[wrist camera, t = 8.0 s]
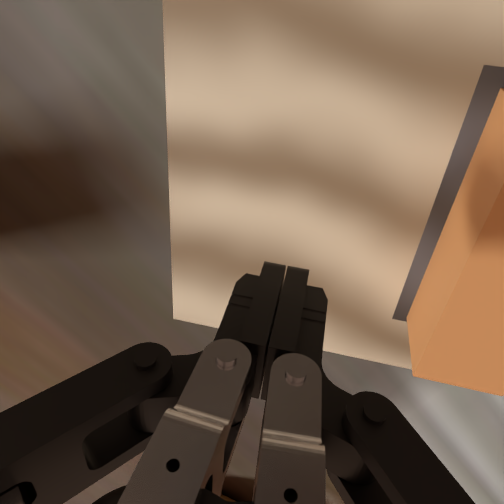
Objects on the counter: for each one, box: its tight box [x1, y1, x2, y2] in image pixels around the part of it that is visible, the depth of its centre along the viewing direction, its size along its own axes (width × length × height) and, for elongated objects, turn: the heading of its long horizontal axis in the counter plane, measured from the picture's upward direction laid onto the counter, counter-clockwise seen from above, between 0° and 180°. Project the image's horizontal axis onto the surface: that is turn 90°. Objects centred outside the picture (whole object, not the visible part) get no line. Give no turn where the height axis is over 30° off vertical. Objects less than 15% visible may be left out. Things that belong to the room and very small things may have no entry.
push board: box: [163, 0, 504, 369], centre depth 20 cm, size 20×26×1 cm
